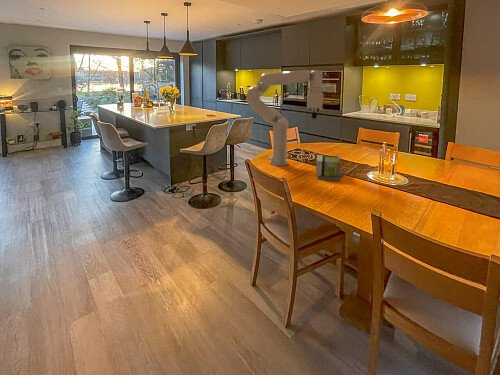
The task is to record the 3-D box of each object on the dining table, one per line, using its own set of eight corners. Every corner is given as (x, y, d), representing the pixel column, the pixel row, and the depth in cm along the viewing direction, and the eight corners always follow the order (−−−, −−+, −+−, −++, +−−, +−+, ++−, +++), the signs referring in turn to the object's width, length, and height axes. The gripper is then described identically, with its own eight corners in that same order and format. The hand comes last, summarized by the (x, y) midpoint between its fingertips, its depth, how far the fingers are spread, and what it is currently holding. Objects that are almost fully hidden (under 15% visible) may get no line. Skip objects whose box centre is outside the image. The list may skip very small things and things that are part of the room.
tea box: (315, 176, 217) (339, 177, 214) (316, 160, 213) (340, 161, 210) (316, 169, 230) (339, 170, 227) (317, 154, 227) (340, 155, 224)
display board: (317, 178, 213) (317, 177, 213) (325, 171, 228) (325, 170, 228) (337, 182, 208) (338, 180, 207) (345, 174, 223) (345, 172, 222)
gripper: (303, 90, 226) (301, 118, 232) (325, 90, 219) (323, 119, 225) (306, 89, 232) (305, 117, 238) (328, 90, 225) (326, 118, 231)
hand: (314, 118), depth 232 cm, fingers closed
